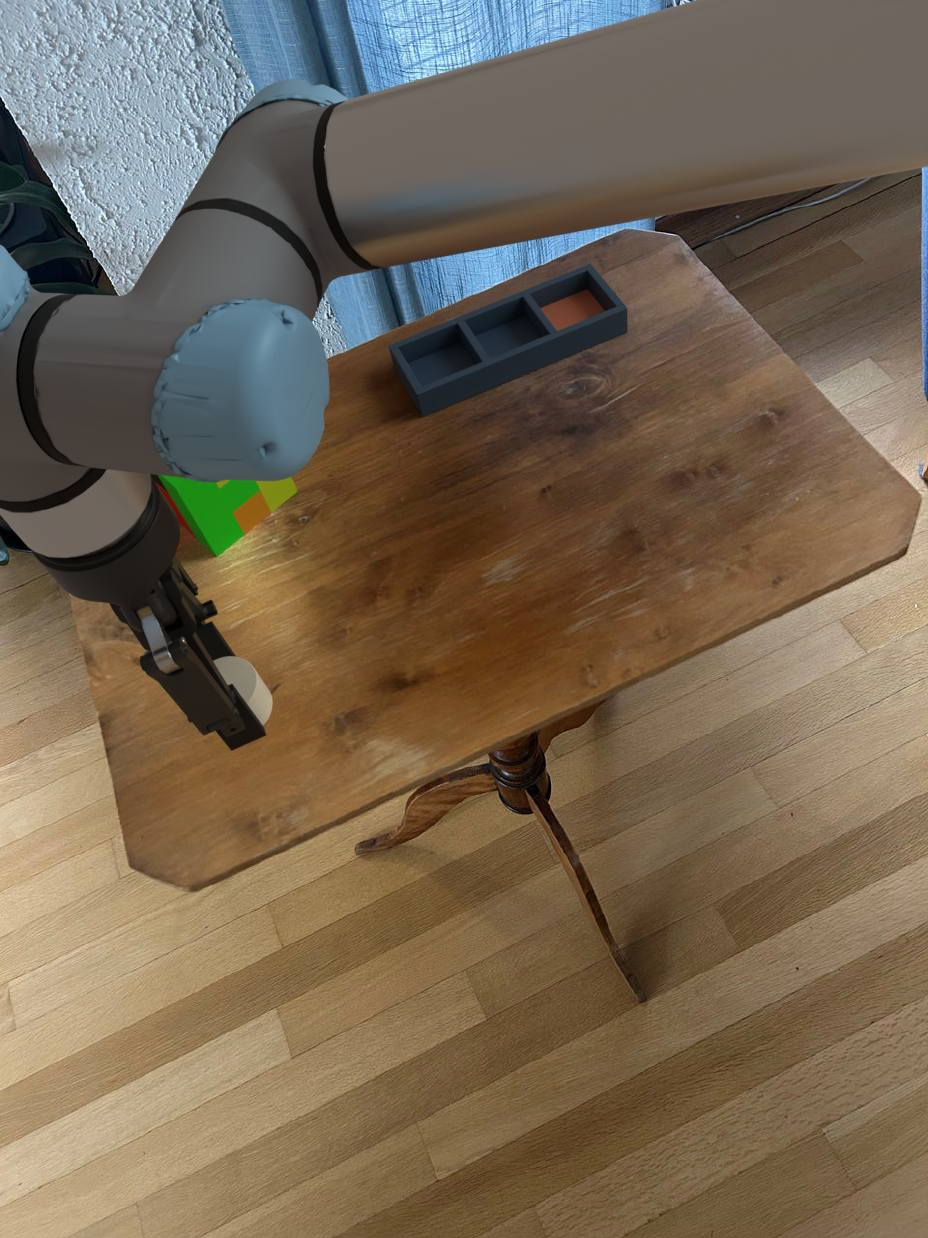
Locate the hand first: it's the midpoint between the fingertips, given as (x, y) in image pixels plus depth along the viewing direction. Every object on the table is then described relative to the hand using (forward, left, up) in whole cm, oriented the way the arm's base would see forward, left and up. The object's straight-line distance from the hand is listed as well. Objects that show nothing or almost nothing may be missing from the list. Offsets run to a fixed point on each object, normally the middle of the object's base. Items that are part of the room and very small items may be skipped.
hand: (237, 707), depth 73 cm
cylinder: (0, 0, 0) cm, 0 cm away
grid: (+33, -36, -9) cm, 49 cm away
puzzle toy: (+29, -4, -9) cm, 30 cm away
